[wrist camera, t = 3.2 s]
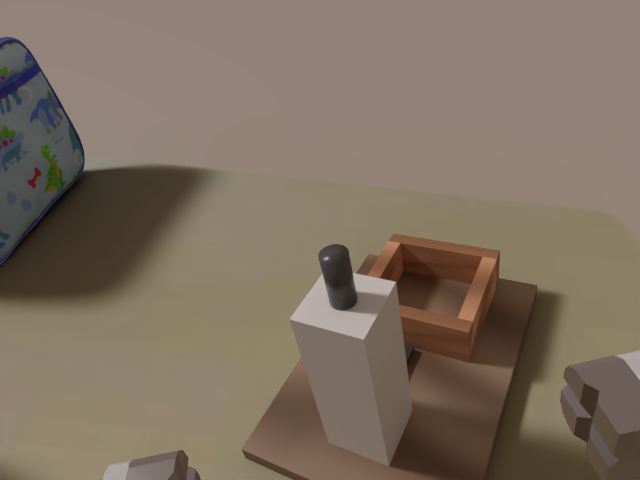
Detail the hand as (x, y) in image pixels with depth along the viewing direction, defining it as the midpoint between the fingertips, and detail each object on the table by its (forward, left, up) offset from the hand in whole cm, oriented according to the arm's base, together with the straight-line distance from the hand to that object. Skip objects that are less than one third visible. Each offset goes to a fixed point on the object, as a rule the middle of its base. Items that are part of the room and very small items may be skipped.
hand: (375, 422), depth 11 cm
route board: (+15, +7, -20) cm, 26 cm away
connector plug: (+10, +7, -19) cm, 22 cm away
